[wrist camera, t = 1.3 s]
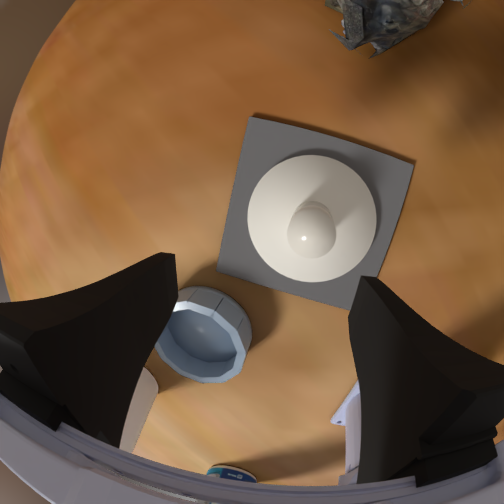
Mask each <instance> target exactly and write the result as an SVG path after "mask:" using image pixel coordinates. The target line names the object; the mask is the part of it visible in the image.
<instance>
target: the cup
mask: <svg viewBox="0 0 504 504" xmlns="http://www.w3.org/2000/svg"><path fill="white" fill-rule="evenodd" d="M157 393H158V384H157V382H156V380H155V378H154V377H153V376H152V374H151V373H150V372H149V371H148V370H147V369H146V368H145V367H143V370H142V372H141V375H140V378H139V380H138V383H137V386H136V388H135V391H134V394H133V397H132V400H131V403H130V407H129V410H128V414H127V417H126V421H125V424H124V429H123V433H122V438H121V442H120V447H119V449H121V450H123V451H126V452H129V453H132V451H133V449H134V447H135V445H136V443H137V440H138V438H139V436H140V433H141V431H142V428H143V426H144V424H145V421H146V419H147V416H148V414H149V412H150V409H151V407H152V405H153V402H154V400H155V398H156V395H157Z"/></svg>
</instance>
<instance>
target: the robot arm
mask: <svg viewBox="0 0 504 504" xmlns="http://www.w3.org/2000/svg"><path fill="white" fill-rule="evenodd" d="M178 297H179V295H178V285H177V274H176V262H175V254H171V253H163V252H160V253H157V254H155V255H152V256H150V257H148V258H146V259H144V260H142V261H140V262H138V263H136V264H134V265H132V266H130V267H128V268H126V269H124V270H122V271H119V272H117V273H115V274H113V275H111V276H108V277H106V278H104V279H102V280H100V281H97V282H95V283H92V284H90V285H87V286H84V287H81V288H78V289H75V290H72V291H68V292H65V293H61V294H58V295H54V296H50V297H45V298H40V299H34V300H27V301H18V302H7V303H0V366H1V367H2V369H3V370H2V371H1V373H0V460H1V461H2V462H3V463H4V464H5V465H6V466H8V468H9V469H10V470H11V471H13V472H14V473H15V474H16V475H17V476H18V477H19V478H20V479H21V480H23V481H24V482H25V483H26V484H27V485H29V486H30V487H31V488H32V489H33V490H35V491H36V492H37V493H38V494H40V495H41V496H42V497H44V498H45V499H46V500H48V501H49V502H50V503H52V504H201V503H196V502H192V501H188V500H183V499H180V498H176V497H173V496H169V495H166V494H162V493H159V492H156V491H153V490H150V489H147V488H144V487H142V486H138V485H136V484H133V483H131V482H128V481H126V480H123V479H121V478H120V477H119V475H117V474H120V475H122V476H125V477H127V478H130V479H132V480H135V481H138V482H140V483H143V484H146V485H149V486H152V487H155V488H158V489H161V490H164V491H168V492H172V493H175V494H179V495H182V496H186V497H190V498H194V499H199V500H203V501H208V502H213V503H218V504H504V440H502V441H500V442H499V443H497V444H496V445H495V444H494V441H493V438H495V437H496V436H497V430H496V427H495V426H496V425H497V424H498V423H499V422H500V421H501V420H502V419H503V418H504V365H502V364H499V363H497V362H494V361H491V360H489V359H487V358H485V357H483V356H481V355H479V354H477V353H475V352H473V351H471V350H469V349H467V348H465V347H464V346H462V345H460V344H459V343H457V342H455V341H454V340H452V339H451V338H449V337H447V336H446V335H445V334H443V333H442V332H440V331H439V330H438V329H436V328H435V327H433V326H432V325H431V324H430V323H428V322H427V321H426V320H425V319H423V318H422V317H421V316H420V315H419V314H417V313H416V312H415V311H414V310H413V309H412V308H410V307H409V306H408V305H407V304H406V303H405V302H404V301H403V300H402V299H400V298H399V297H398V296H397V295H396V294H395V293H394V292H393V291H392V290H391V289H390V288H388V287H387V286H386V285H385V284H384V283H383V282H382V281H380V280H379V279H378V278H376V277H372V276H362V275H361V277H360V280H359V284H358V287H357V291H356V294H355V297H354V300H353V304H352V307H351V310H350V313H349V316H348V322H349V335H350V342H351V347H352V352H353V357H354V362H355V367H356V372H357V377H358V380H357V382H356V383H355V385H354V387H353V388H352V390H351V391H350V393H349V394H348V395H347V397H346V398H345V400H344V401H343V403H342V404H341V406H340V407H339V408H338V410H337V411H336V413H335V414H334V415H333V417H332V418H331V423H333V424H338V425H344V426H346V468H345V475H341V476H339V483H338V486H286V485H271V484H260V483H251V482H243V481H236V480H230V479H224V478H218V477H213V476H208V475H203V474H199V473H194V472H190V471H186V470H182V469H178V468H175V467H171V466H168V465H164V464H161V463H158V462H154V461H151V460H148V459H145V458H142V457H140V456H137V455H134V454H131V453H129V452H126V451H123V450H121V449H119V447H120V442H121V438H122V433H123V429H124V424H125V421H126V417H127V414H128V410H129V407H130V403H131V400H132V397H133V394H134V391H135V388H136V386H137V383H138V380H139V378H140V375H141V372H142V370H143V367H144V365H145V363H146V361H147V359H148V357H149V355H150V353H151V351H152V350H153V348H154V346H155V344H156V343H157V341H158V339H159V337H160V335H161V334H162V332H163V330H164V328H165V327H166V325H167V323H168V321H169V319H170V317H171V315H172V313H173V310H174V308H175V305H176V303H177V300H178ZM109 470H110V471H109ZM111 471H113V472H115V473H117V474H115V473H113V472H111Z"/></svg>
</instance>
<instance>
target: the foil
mask: <svg viewBox="0 0 504 504" xmlns="http://www.w3.org/2000/svg"><path fill="white" fill-rule="evenodd" d="M452 1H461V3H462V1H463V0H452ZM443 3H444V2H443V0H326V1H325V6H327V7H330V8H332V9H334V10H336V11H338V12H340V13H342V14H343V17H344V19H343V20H342V25H343V26H344V29H345V30H344V31H343V33H344V34H345V36H346V38H344V37H343V36H340V35H338V34H336V33H335V32H333V31H331V30H330V31H331V32H332V33H333V34H334V35H335V36H336V37H337V38H338V39H339V40H340V41H341V42H342V44H343V45H344V46H345V47H346V48H347V49H348V50H353V49H355V48H357V47H359V46H361V45H363V44H366V43H368V42H371V43H372V45H373V46H374V48H375V49H376V52H375V53H374V54H373V55H372V56H371V57H374V56H376V55H379V54H381V53H382V52H384V51H386V50H387V49H389V48H390V47H392V46H394V45H395V44H397V43H399V42H401V41H402V40H404V38H405V39H406V37H408V36H409V35H410V36H411V34H412V33H414V32H416V31H417V30H419V29H423V28H425V27H426V26H427V24H428V23H429V21H430V20H431V18H432V17H433V16H434V14H435V13H436V12H437V10H438V9H439V8H440V7H441V5H442V4H443ZM468 4H469V3H468ZM468 4H467V5H468ZM462 5H463V3H462ZM467 5H466V6H467ZM466 6H465V7H466ZM463 7H464V6H463ZM465 7H464V8H465ZM414 34H415V33H414ZM412 35H413V34H412ZM371 57H370V58H371Z"/></svg>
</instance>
